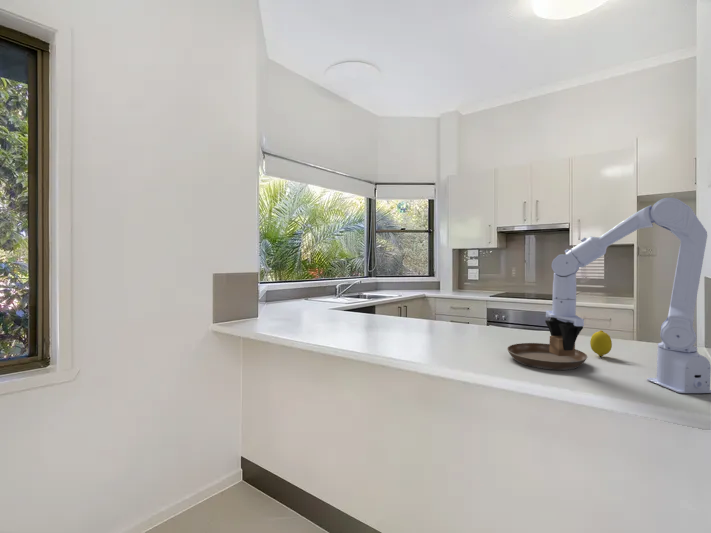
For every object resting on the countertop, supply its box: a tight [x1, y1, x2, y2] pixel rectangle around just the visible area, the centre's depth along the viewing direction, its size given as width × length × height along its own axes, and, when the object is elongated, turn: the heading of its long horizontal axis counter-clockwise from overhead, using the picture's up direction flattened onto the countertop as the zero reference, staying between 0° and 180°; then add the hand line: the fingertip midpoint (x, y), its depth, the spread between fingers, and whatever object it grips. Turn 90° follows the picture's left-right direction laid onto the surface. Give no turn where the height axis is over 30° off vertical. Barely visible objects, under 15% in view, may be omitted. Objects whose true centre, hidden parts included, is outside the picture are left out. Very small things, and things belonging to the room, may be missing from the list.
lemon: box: [589, 330, 613, 358], centre depth 117 cm, size 6×6×8 cm
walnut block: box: [549, 335, 576, 356], centre depth 106 cm, size 4×4×4 cm
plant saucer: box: [506, 342, 588, 371], centre depth 111 cm, size 21×21×3 cm
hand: (562, 347), depth 106 cm, fingers closed on walnut block, 4 cm apart
